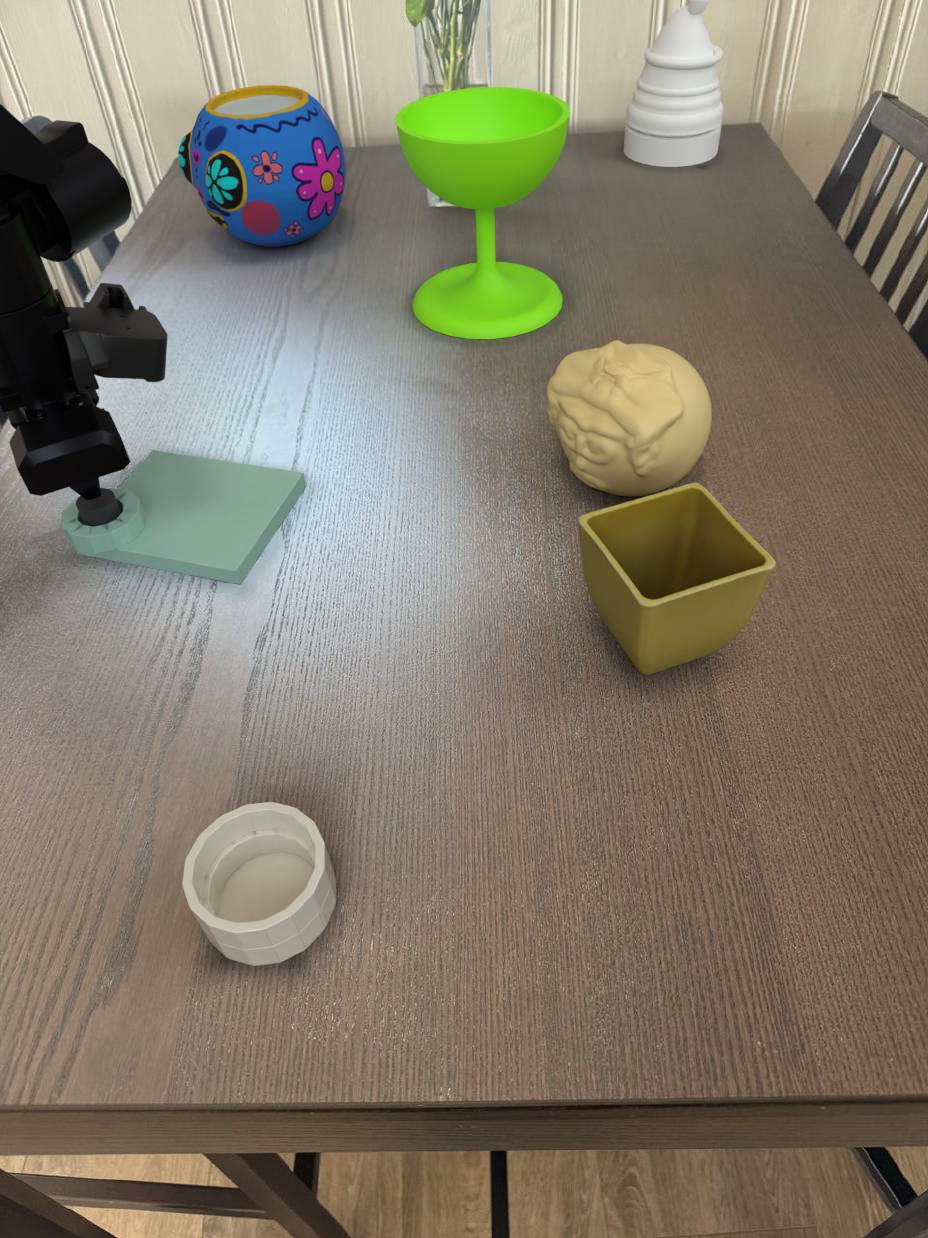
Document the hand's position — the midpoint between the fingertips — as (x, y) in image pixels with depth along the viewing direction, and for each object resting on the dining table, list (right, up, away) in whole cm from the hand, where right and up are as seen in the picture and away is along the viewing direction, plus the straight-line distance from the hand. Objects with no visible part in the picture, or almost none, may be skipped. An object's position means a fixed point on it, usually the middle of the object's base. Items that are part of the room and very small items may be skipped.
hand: (93, 496), depth 65 cm
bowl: (+17, -24, -18) cm, 35 cm away
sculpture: (+41, +3, +7) cm, 41 cm away
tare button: (0, -1, +1) cm, 2 cm away
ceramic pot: (+5, +37, +42) cm, 56 cm away
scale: (+6, -1, +5) cm, 8 cm away
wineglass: (+30, +24, +28) cm, 48 cm away
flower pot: (+40, -11, -6) cm, 42 cm away
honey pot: (+56, +56, +56) cm, 97 cm away
